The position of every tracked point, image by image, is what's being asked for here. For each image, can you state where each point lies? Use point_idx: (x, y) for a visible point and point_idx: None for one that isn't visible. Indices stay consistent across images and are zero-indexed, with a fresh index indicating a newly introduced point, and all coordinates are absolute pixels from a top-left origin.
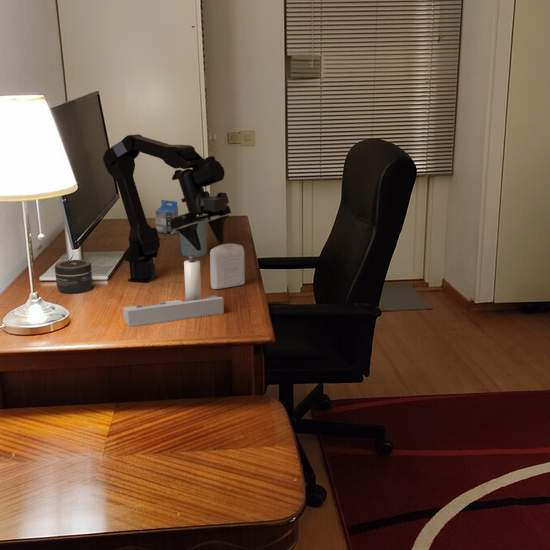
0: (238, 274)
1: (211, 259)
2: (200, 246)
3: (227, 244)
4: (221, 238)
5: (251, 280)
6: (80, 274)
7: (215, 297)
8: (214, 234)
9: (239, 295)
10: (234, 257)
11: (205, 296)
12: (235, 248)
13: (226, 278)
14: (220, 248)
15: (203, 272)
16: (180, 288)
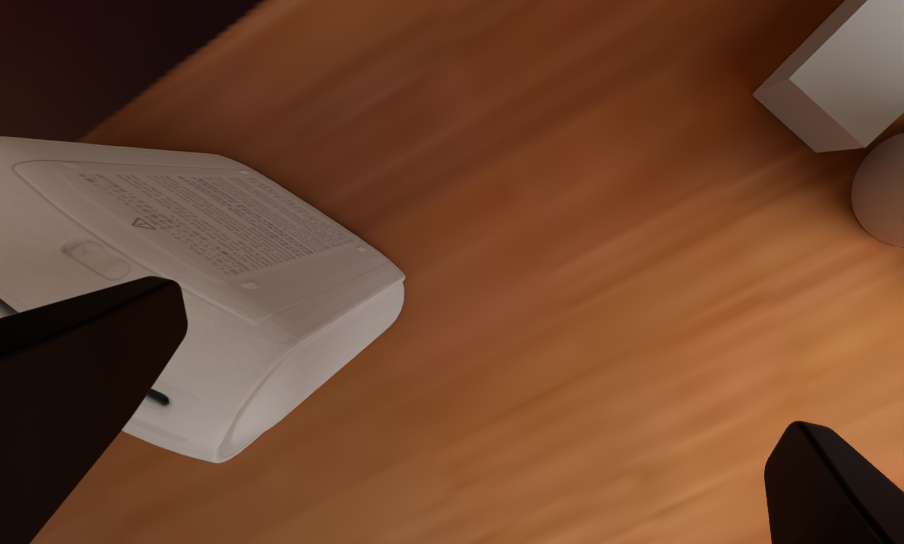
0: (223, 174)
1: (305, 394)
2: (832, 464)
3: None
4: (111, 316)
5: None
6: None
7: (860, 36)
8: (39, 527)
9: (449, 63)
10: (141, 195)
11: (859, 137)
12: (26, 200)
13: (321, 234)
14: None
15: (129, 522)
16: (472, 511)
